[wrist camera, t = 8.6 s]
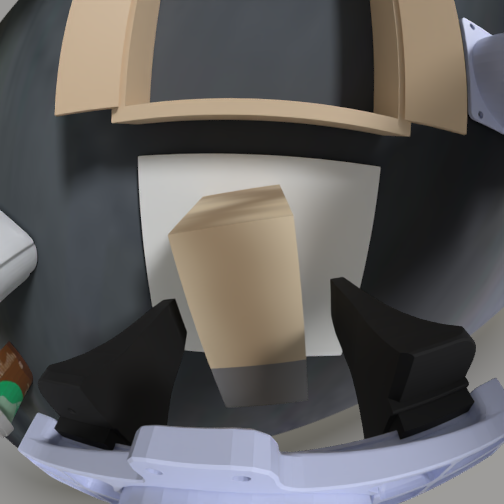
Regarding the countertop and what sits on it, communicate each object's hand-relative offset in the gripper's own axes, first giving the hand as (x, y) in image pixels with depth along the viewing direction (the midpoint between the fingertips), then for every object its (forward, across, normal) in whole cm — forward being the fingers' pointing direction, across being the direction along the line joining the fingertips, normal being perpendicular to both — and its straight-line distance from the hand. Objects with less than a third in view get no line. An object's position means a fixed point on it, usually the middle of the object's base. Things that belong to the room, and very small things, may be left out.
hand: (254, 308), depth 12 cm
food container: (+4, +32, +11) cm, 34 cm away
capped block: (+4, 0, 0) cm, 4 cm away
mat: (+4, 0, 0) cm, 4 cm away
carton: (+4, -3, -15) cm, 16 cm away
